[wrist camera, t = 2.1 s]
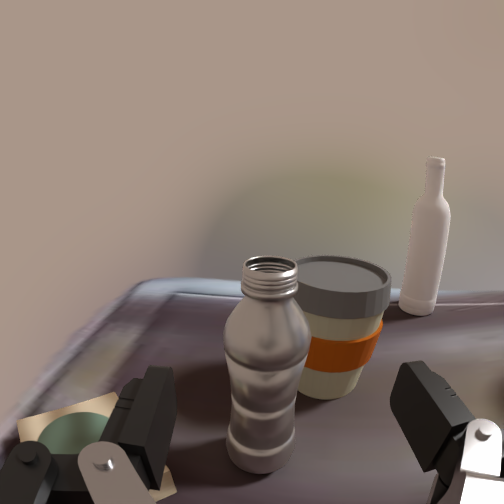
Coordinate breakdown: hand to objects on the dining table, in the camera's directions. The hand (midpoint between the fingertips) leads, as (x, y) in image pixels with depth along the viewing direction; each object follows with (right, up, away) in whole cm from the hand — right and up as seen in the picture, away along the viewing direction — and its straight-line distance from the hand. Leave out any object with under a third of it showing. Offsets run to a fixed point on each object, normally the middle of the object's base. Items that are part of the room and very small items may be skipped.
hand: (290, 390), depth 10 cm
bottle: (+32, -7, +48) cm, 58 cm away
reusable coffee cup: (+8, -12, +29) cm, 32 cm away
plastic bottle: (-1, -16, +16) cm, 23 cm away
